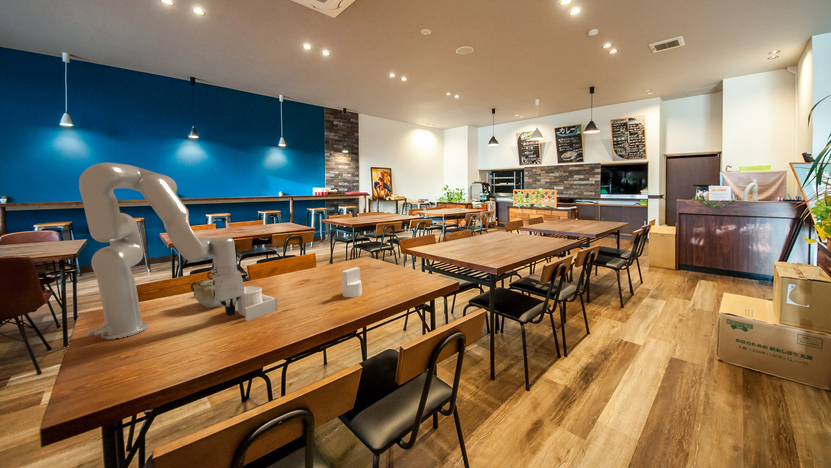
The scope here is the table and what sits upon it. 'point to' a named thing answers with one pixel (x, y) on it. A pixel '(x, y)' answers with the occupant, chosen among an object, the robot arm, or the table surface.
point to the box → (260, 308)
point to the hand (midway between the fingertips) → (230, 314)
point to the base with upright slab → (351, 282)
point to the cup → (249, 298)
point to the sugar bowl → (204, 292)
